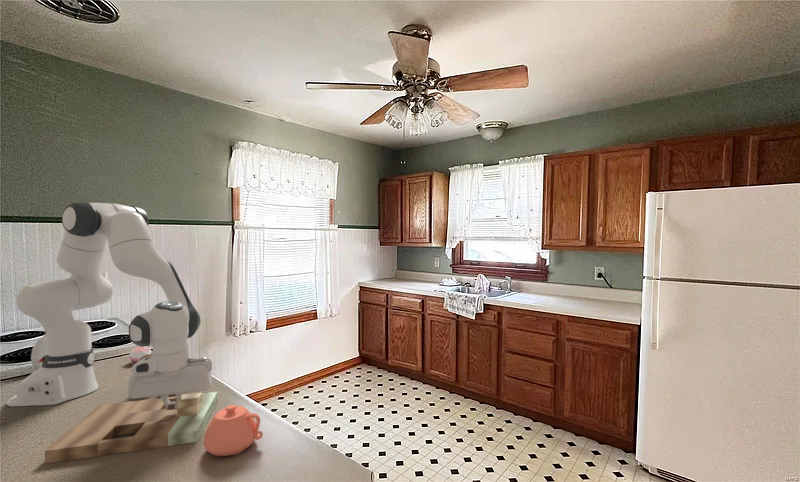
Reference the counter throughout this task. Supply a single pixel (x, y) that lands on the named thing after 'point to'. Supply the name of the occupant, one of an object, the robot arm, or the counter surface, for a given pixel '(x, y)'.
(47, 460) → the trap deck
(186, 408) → the birch block
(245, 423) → the sugar bowl
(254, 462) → the counter surface
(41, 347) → the soap bottle
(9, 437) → the counter surface
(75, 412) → the counter surface
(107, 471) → the counter surface
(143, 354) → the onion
